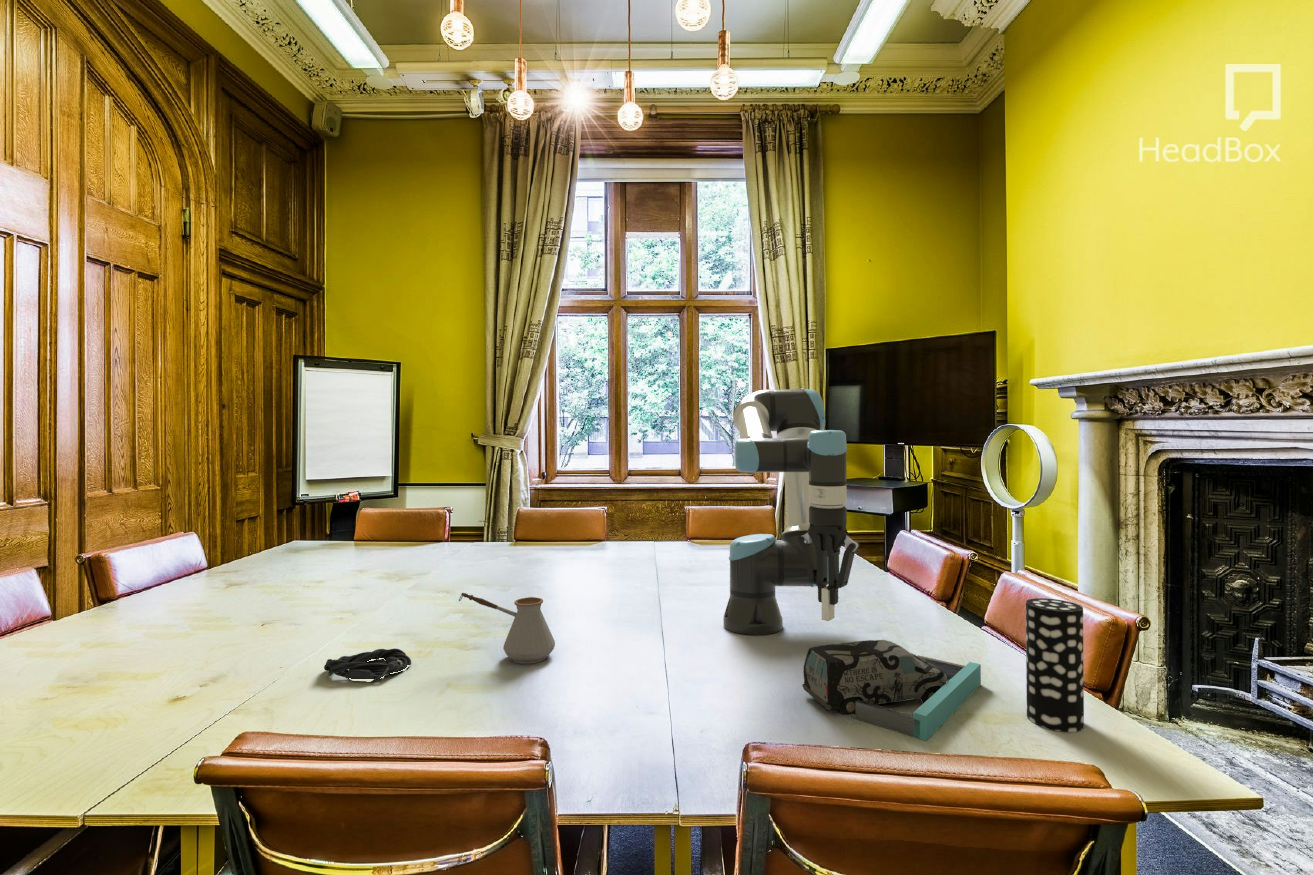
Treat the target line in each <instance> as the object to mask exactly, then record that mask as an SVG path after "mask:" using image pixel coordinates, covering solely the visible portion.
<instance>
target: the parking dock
mask: <svg viewBox="0 0 1313 875" xmlns="http://www.w3.org/2000/svg"><path fill="white" fill-rule="evenodd" d="M917 656H918V657H920V658H922V659H924V660H925V661H927V662H929V663H930V664H932V665H934V666H935V667H937V668H938V669H940V670H941V671H942V672H943V673H945V674H946V676H947V679H949V680H947V681H946V684H945V685H944V686H942V687H941V688H940V689H939V690H938V691H937V692H936V693H935V694H934V695H932V696H931V697H930V698H929V699H928V700H927V701H926V702H925V703H924V704H923V703H922V704H921V705H920V706H918V708H917V709H915V711H914V712H913V715H912V714H908V713H905V712H902V711H897V710H894V709H891V708H888V707H885V706H881V705H879V704H871V703H867V702H864V701H861V700H857V701H856V702H855V707H856V714H855V719H856V720H858V721H862V722H865V723H868V724H872V725H874V726H878V727H881V728H884V729H887V730H891V731H893V732H897V733H900V734H903V735H907V736H910V737H913V738H915V739H919V740H922V741H927V740H929V738H930V737H931V736H932V735H933V734H935V732H937V731H938V730H939V728H941V726H943V724H944V723H945V722H946V721H948V719H949V718H950V717H951V716H952V715H953V714H954V713H955V712H956V711H957V710H958V709H959V708H960V707H961V706H962V705H963V704H964V703H965V701H967V700H968V698H970V697H971V696H972V694H974V692H975V691H977V689H978V688H979V687H980V686H981V685H982V680H981V679H982V676H981V675H982V672H981V671H982V670H981V669H982V666H981V663H976V662H972V661H969V662H968V663H967V664H965V665H963V664H958V663H955V662H950V661H945V660H942V659H936V658H931V657H928V656H923V655H920V654H919V655H917Z"/></svg>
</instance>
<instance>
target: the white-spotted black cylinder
mask: <svg viewBox="0 0 1313 875" xmlns="http://www.w3.org/2000/svg"><path fill="white" fill-rule="evenodd" d="M1025 657H1026V658H1025V663H1026V665H1025V666H1026V669H1025V671H1026V673H1025V674H1026V677H1025V679H1026V681H1025V684H1026V685H1025V686H1026V717H1027V719H1028V720H1029V721H1030V722H1031V723H1032V724H1035V725H1037V726H1039V727H1042V728H1044V729H1048V730H1052V731H1056V732H1063V733H1077V732H1081V731H1082V730H1084V728H1085V717H1084V716H1085V702H1084V700H1085V691H1084V688H1085V687H1084V684H1085V682H1084V680H1085V679H1084V678H1085V677H1084V675H1085V674H1084V670H1085V669H1084V666H1085V665H1084V607H1083V606H1082V605H1080V604H1078V603H1075V602H1071V601H1067V600H1061V599H1056V598H1041V597H1039V598H1029V599H1027V600H1026V601H1025Z"/></svg>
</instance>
